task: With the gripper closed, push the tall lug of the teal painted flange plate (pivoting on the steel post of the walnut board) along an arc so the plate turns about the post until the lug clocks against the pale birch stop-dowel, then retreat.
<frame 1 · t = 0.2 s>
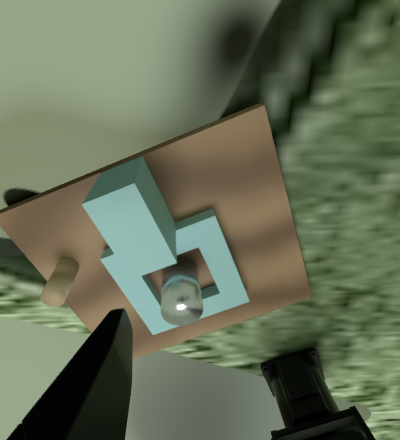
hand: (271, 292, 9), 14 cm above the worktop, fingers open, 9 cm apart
board: (175, 254, 24), on the worktop
dowel: (73, 257, 24), resting on board
flange: (166, 266, 20), point 4 cm above the worktop, hinge at 0.0°
post: (179, 263, 25), resting on board
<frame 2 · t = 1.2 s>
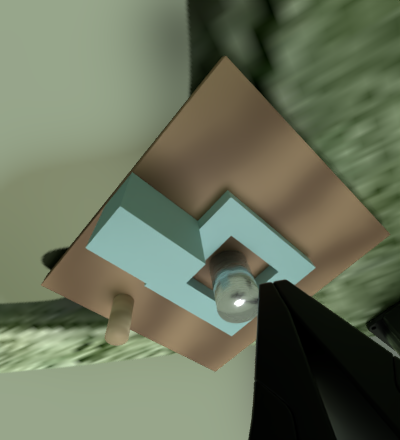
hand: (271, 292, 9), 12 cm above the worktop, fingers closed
board: (216, 250, 23), on the worktop
dowel: (125, 290, 24), resting on board
flange: (205, 269, 19), point 4 cm above the worktop, hinge at 0.0°
post: (225, 256, 23), resting on board
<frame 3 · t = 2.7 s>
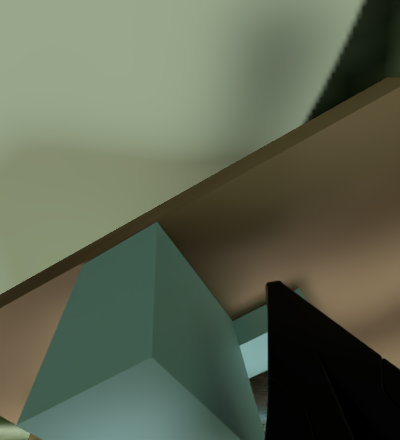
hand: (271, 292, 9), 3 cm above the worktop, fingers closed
board: (232, 354, 15), on the worktop
flange: (232, 419, 11), point 4 cm above the worktop, hinge at 1.3°, touching gripper
post: (240, 364, 15), resting on board
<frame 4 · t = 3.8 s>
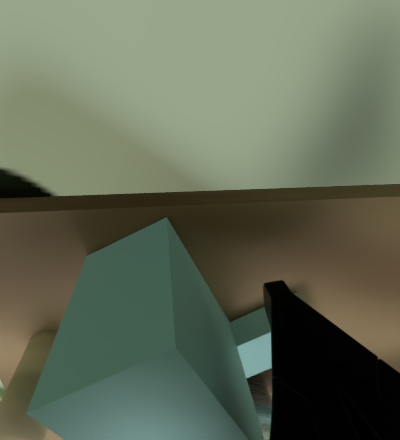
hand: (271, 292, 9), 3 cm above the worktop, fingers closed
board: (231, 354, 15), on the worktop
dowel: (60, 322, 12), resting on board
flange: (225, 419, 11), point 4 cm above the worktop, hinge at 25.9°, touching gripper
post: (230, 367, 15), resting on board
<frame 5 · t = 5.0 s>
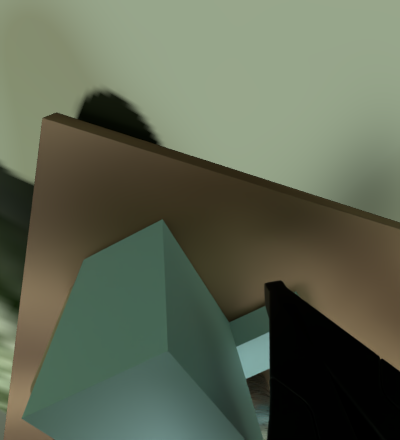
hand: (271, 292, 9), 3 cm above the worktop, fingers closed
board: (238, 354, 15), on the worktop
flange: (226, 420, 11), point 4 cm above the worktop, hinge at 46.0°, touching dowel, gripper
post: (231, 367, 15), resting on board
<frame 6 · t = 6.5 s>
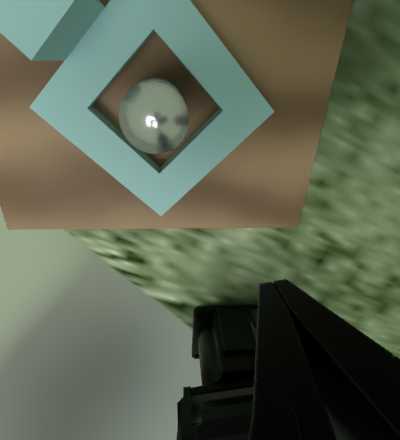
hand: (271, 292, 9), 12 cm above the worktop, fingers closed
board: (158, 85, 17), on the worktop
flange: (109, 66, 13), point 4 cm above the worktop, hinge at 46.0°, touching dowel
post: (158, 103, 17), resting on board
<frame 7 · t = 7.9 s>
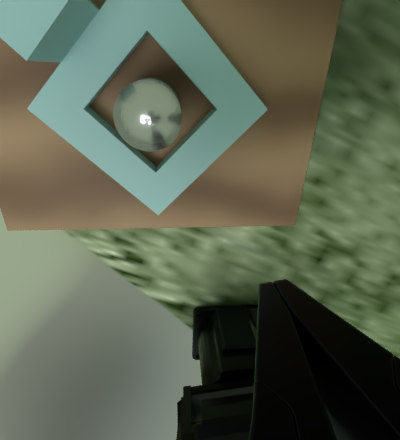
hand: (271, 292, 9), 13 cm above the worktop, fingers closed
board: (153, 85, 17), on the worktop
flange: (104, 67, 13), point 4 cm above the worktop, hinge at 46.0°, touching dowel
post: (154, 103, 18), resting on board
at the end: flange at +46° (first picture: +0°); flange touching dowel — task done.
